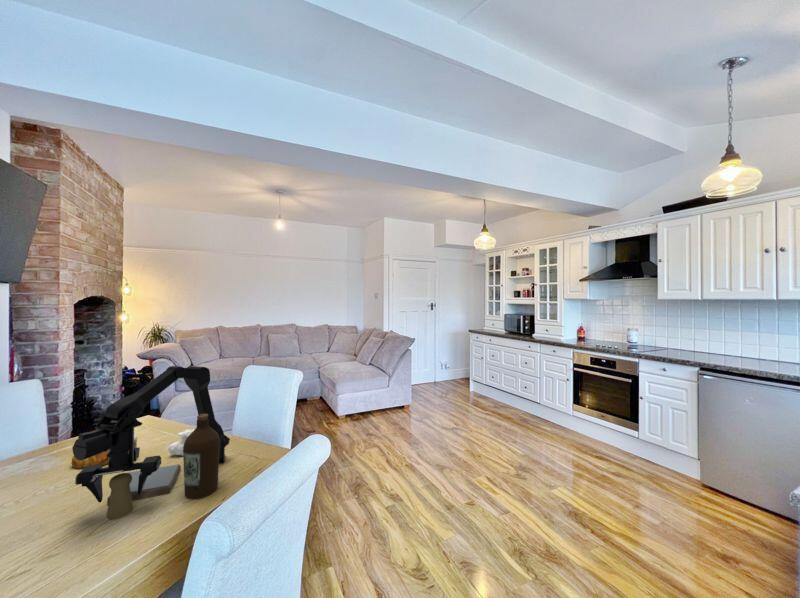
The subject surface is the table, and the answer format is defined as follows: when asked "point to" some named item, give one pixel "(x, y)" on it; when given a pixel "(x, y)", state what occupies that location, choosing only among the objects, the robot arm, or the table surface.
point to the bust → (179, 443)
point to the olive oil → (201, 460)
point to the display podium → (154, 482)
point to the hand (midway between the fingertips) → (120, 497)
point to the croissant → (91, 460)
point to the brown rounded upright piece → (120, 496)
